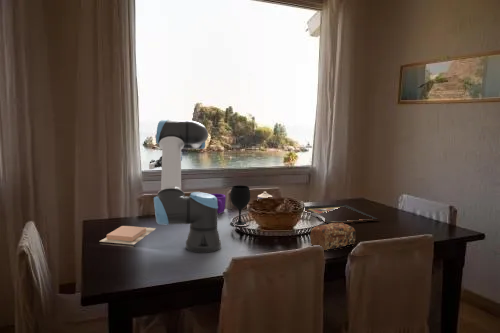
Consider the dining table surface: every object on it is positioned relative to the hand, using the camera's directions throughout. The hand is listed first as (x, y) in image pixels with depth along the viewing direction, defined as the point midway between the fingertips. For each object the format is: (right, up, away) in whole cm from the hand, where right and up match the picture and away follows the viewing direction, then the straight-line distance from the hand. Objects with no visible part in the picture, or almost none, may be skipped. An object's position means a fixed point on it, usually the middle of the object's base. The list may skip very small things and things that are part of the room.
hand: (150, 166), depth 191 cm
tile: (-5, -29, -12) cm, 32 cm away
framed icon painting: (+102, -30, +34) cm, 111 cm away
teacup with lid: (+58, -27, +40) cm, 76 cm away
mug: (+31, -27, +30) cm, 51 cm away
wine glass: (+44, -31, +9) cm, 55 cm away
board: (-5, -32, -16) cm, 37 cm away
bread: (+87, -36, -20) cm, 96 cm away
